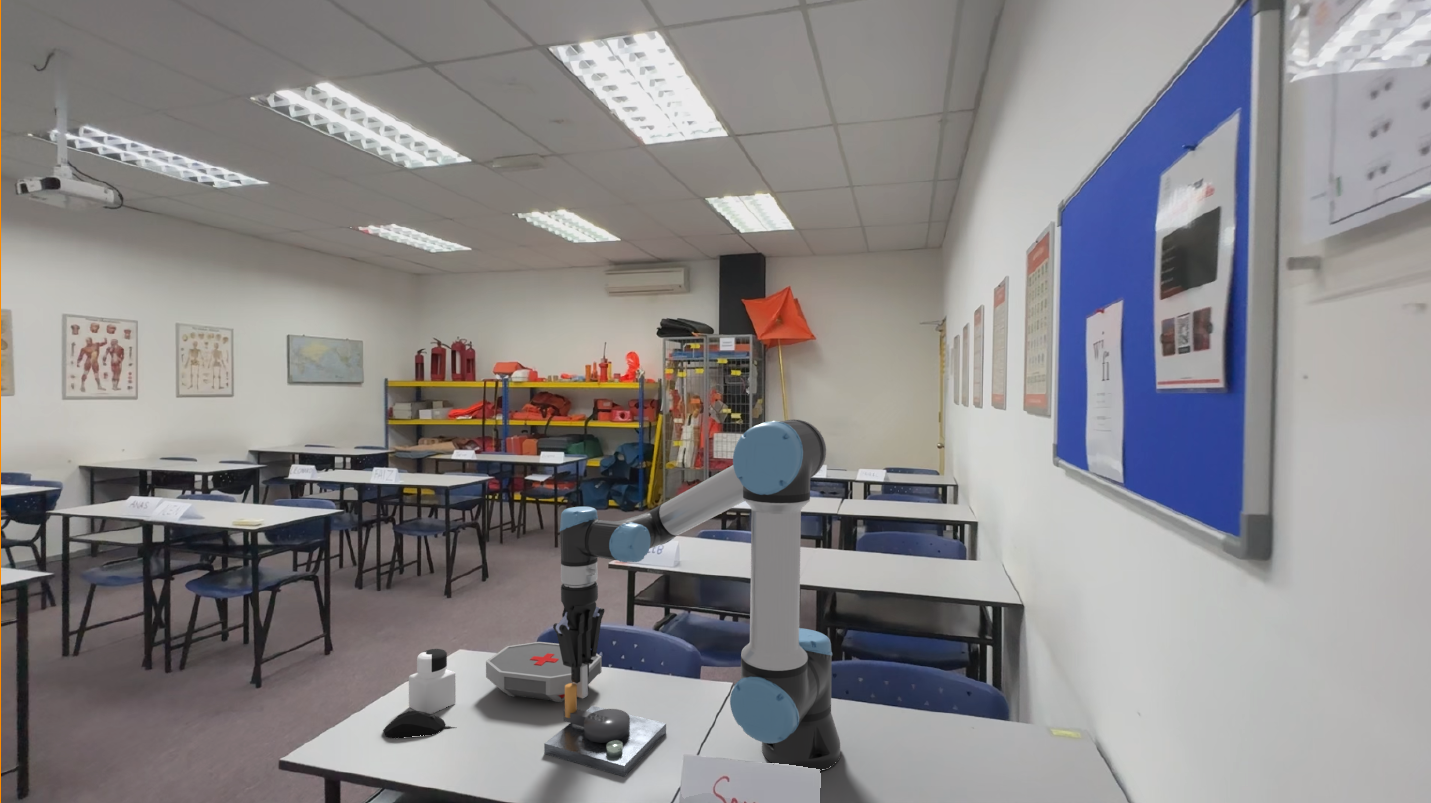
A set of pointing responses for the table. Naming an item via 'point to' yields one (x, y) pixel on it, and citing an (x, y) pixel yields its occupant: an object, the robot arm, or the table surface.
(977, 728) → the table surface
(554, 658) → the first aid kit
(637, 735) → the base
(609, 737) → the domed crank handle
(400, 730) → the gaming mouse
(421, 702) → the medicine bottle
